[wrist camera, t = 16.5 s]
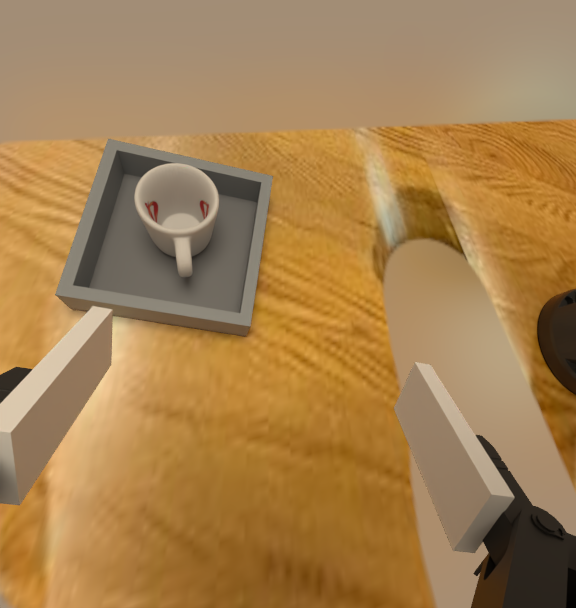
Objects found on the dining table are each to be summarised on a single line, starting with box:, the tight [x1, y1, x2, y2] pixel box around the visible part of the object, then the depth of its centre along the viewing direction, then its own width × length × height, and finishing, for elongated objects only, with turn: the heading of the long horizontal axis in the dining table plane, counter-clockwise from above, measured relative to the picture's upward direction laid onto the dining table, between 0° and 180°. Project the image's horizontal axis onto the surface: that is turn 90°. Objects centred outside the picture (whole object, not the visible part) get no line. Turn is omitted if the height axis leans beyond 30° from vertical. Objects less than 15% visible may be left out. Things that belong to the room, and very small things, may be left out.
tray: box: [55, 139, 273, 336], centre depth 42 cm, size 18×18×4 cm
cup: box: [134, 163, 219, 277], centre depth 40 cm, size 11×8×8 cm
